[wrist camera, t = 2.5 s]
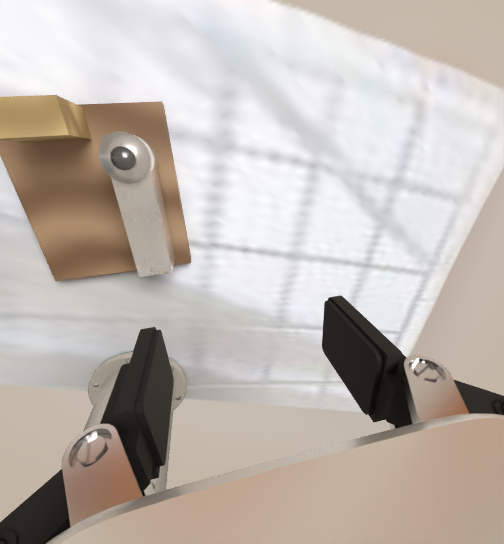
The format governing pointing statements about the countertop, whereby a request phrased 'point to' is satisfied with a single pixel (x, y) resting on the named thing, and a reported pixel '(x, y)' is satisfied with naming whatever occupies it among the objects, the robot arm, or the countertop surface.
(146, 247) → the latch bar
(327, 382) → the countertop surface
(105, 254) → the lock base
